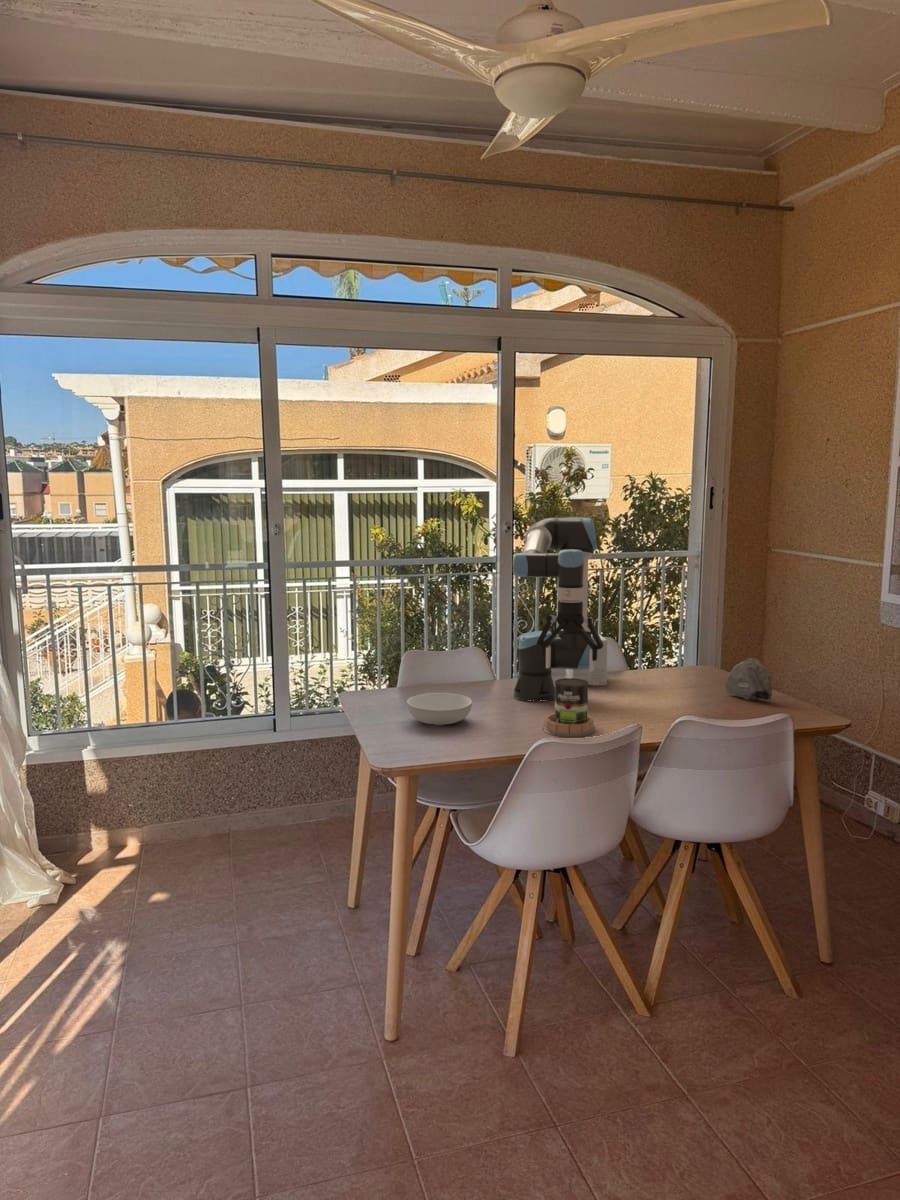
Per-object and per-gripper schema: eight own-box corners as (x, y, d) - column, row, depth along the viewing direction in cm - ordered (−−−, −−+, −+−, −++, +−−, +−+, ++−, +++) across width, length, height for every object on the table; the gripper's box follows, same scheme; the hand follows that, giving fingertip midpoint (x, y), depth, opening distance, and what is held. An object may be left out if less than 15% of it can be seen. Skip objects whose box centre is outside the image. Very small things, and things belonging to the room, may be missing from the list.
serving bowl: (421, 734, 249) (421, 712, 248) (398, 717, 268) (397, 696, 267) (482, 726, 257) (482, 704, 256) (456, 709, 276) (455, 689, 275)
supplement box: (598, 677, 319) (599, 633, 317) (607, 685, 306) (607, 639, 304) (565, 678, 318) (565, 634, 316) (572, 686, 305) (572, 640, 303)
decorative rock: (773, 703, 280) (775, 660, 278) (761, 706, 276) (763, 662, 274) (734, 693, 293) (735, 652, 291) (722, 695, 290) (723, 654, 288)
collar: (536, 733, 248) (536, 722, 247) (550, 719, 262) (550, 709, 262) (588, 739, 242) (588, 728, 241) (599, 724, 256) (600, 714, 256)
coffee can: (584, 732, 245) (584, 687, 243) (550, 729, 249) (551, 684, 247) (590, 723, 255) (591, 679, 253) (558, 720, 258) (558, 676, 256)
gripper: (527, 600, 248) (526, 668, 251) (608, 604, 238) (607, 675, 241) (534, 597, 255) (533, 663, 258) (613, 600, 245) (612, 669, 248)
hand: (569, 669), depth 250 cm, fingers open, 13 cm apart
